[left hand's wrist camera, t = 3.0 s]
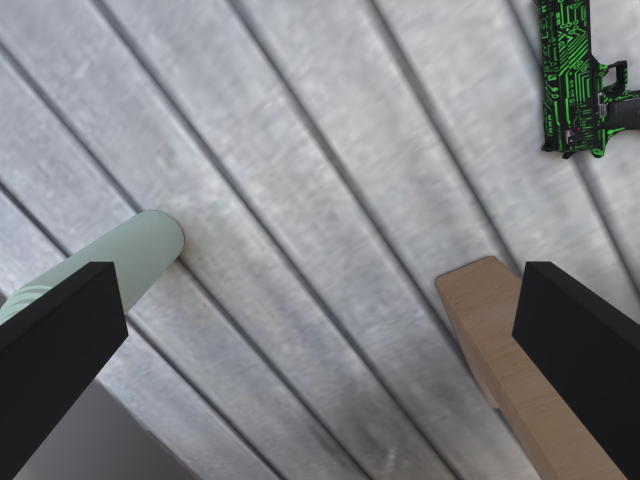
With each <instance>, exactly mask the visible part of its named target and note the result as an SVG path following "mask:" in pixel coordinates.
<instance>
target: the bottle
mask: <svg viewBox="0 0 640 480" xmlns="http://www.w3.org/2000/svg"><path fill="white" fill-rule="evenodd" d="M183 246H184V234H183V231H182V229H181V227H180V225H179V224H178V223H177V221H176V220H175V219H173V218H172V217H171V216H169V215H168V214H166V213H164V212H161V211H156V210H147V211H143V212H140V213H138V214H137V215H135V216H134V217H132V218H130V219H129V220H127V221H126V222H124V223H123V224H121V225H119V226H118V227H116V228H115V229H113V230H112V231H110V232H108V233H107V234H105V235H104V236H102V237H101V238H99V239H97V240H96V241H94V242H93V243H91V244H90V245H88V246H86V247H85V248H83V249H82V250H80V251H79V252H77V253H75V254H74V255H72V256H71V257H69V258H68V259H66V260H64V261H63V262H61V263H60V264H58V265H57V266H55V267H53V268H52V269H50V270H49V271H47V272H46V273H44V274H42V275H41V276H39V277H38V278H36V279H35V280H33V281H31V282H30V283H28V284H27V285H25V286H24V287H22V288H20V289H19V290H17V291H16V292H14V293H13V294H12V295H11V296H10V297H9V298H8V300H7V301H6V303H5V304H4V305H3V306H2V308H1V310H0V325H1V324H3V323H4V322H5V321H7V320H8V319H10V318H11V317H12V316H14V315H15V314H17V313H18V312H19V311H21V310H22V309H24V308H25V307H27V306H28V305H29V304H31V303H32V302H34V301H35V300H36V299H38V298H39V297H41V296H42V295H43V294H45V293H46V292H48V291H49V290H50V289H52V288H53V287H55V286H56V285H57V284H59V283H60V282H62V281H63V280H64V279H66V278H67V277H69V276H70V275H72V274H73V273H74V272H76V271H77V270H79V269H80V268H81V267H83V266H84V265H86V264H87V263H88V262H114V265H115V270H116V275H117V280H118V285H119V290H120V295H121V300H122V305H123V310H124V315H126V314H127V312H128V311H129V310H130V309H131V308H132V307H133V306H134V305H135V304H136V302H137V301H138V300H139V299H140V298H141V297H142V296H143V295H144V294H145V292H146V291H147V290H148V289H149V288H150V287H151V286H152V285H153V283H154V282H155V281H156V280H157V279H158V278H159V277H160V276H161V275H162V273H163V272H164V271H165V270H166V269H167V268H168V267H169V266H170V265H171V263H172V262H173V261H174V260H175V259H176V258H177V257H178V256H179V254H180V253H181V251H182V249H183Z"/></svg>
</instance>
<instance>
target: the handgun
mask: <svg viewBox="0 0 640 480" xmlns="http://www.w3.org/2000/svg"><path fill="white" fill-rule="evenodd" d="M533 1H534V2H535V4H536V5H537V6H538V8H539V18H540V28H541V40H542V52H543V65H544V76H545V87H546V97H547V100H546V101H543V108H544V117H545V122H544V130H545V141H546V143H545V144H544V145H543V147H542V148H541V150H542V151H546V152H551V151H557V152H562V153H563V152H564V155H563V157H562V158H564V159H568V158H569V157H570V156H571V155H572V154H574V153H576V152H577V151H585V150H589V151H590V152H591V153H592V155H593V156H594V157H596V158H601V157H603V156H604V151H605V146H606V144H607V142H608V140H609V138H610V137H611V136H613V135H615V134H617V133H618V132H620V131H622V130H640V90H637V91H630V90H625V88H626V85H627V61H626V60H625V61H618V62H616V63H614V64H611V65H608V66H606V65H603V64H600V63H599V62H598V61H597V60H596V59H595V58H594V56H593V55H592V54H591V28H590V1H589V0H533ZM613 67H616V78H617V82H615V83H614V84H612V85H610V86H607V87H604V88H603V80H602V78H603V77H604V76H605V75H606V74H607V73H608V72H609V71H608V69H610V68H613ZM611 90H612V91H611ZM624 90H625V91H624ZM604 93H605V94H604Z"/></svg>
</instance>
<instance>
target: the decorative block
mask: <svg viewBox="0 0 640 480" xmlns="http://www.w3.org/2000/svg"><path fill="white" fill-rule="evenodd" d="M435 285H436V288H437V290H438V293H439V295H440V298H441V300H442V302H443V305H444V307H445V310H446V312H447V314H448V317H449V319H450V322H451V324H452V327H453V329H454V331H455V334H456V336H457V339H458V341H459V343H460V346H461V348H462V351H463V353H464V356H465V358H466V360H467V363H468V365H469V368H470V370H471V372H472V374H473V376H474V378H475V380H476V381H477V383H478V385H479V387H480V389H481V390H482V392H483V394H484V396H485V398H486V399H487V401H488V403H489V405H491V406H492V407H493V408H500V409H501V411H502V413H503V414H504V416H505V418H506V419H507V421H508V423H509V425H510V426H511V428H512V430H513V431H514V433H515V435H516V437H517V438H518V440H519V442H520V444H521V445H522V447H523V449H524V450H525V452H526V454H527V456H528V457H529V459H530V461H531V463H532V464H533V466H534V468H535V469H536V471H537V473H538V475H539V476H540V478H541V480H627V478H626V477H625V476H624V475H623V473H622V472H621V471H620V470H619V468H618V467H617V466H616V465H615V463H614V462H613V461H612V460H611V458H610V457H609V456H608V455H607V454H606V452H605V451H604V450H603V449H602V447H601V446H600V445H599V444H598V442H597V441H596V440H595V439H594V437H593V436H592V435H591V434H590V432H589V431H588V430H587V429H586V427H585V426H584V425H583V424H582V422H581V421H580V420H579V419H578V418H577V416H576V415H575V414H574V413H573V411H572V410H571V409H570V408H569V406H568V405H567V404H566V403H565V401H564V400H563V399H562V398H561V396H560V395H559V394H558V393H557V391H556V390H555V389H554V388H553V386H552V385H551V384H550V383H549V382H548V380H547V379H546V378H545V377H544V375H543V374H542V373H541V372H540V370H539V369H538V368H537V367H536V365H535V364H534V363H533V362H532V360H531V359H530V358H529V357H528V355H527V354H526V353H525V352H524V350H523V349H522V348H521V347H520V346H519V344H518V343H517V342H516V341H515V339H514V338H513V337H512V336H511V335H512V330H513V325H514V320H515V315H516V310H517V305H518V300H519V295H520V290H521V285H522V280H520V279H519V278H518V277H517V276H516V275H515V274H514V273H513V272H512V271H511V270H509V269H508V268H507V267H506V266H505V265H504V264H503V263H502V262H501V261H500V260H498V259H497V258H496V257H495V256H489V257H486V258H484V259H481V260H479V261H476V262H474V263H472V264H469V265H467V266H464V267H462V268H459V269H457V270H454V271H452V272H450V273H447V274H445V275H442V276H440V277H438V278H437V279H435Z"/></svg>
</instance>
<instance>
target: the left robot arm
mask: <svg viewBox="0 0 640 480" xmlns="http://www.w3.org/2000/svg"><path fill="white" fill-rule="evenodd" d="M128 336H129V335H128V330H127V325H126V320H125V315H124V310H123V305H122V300H121V295H120V290H119V285H118V280H117V275H116V270H115V265H114V262H88V263H87V264H86V265H84V266H83V267H81V268H80V269H79V270H77V271H76V272H74V273H73V274H72V275H70V276H69V277H67V278H66V279H64V280H63V281H62V282H60V283H59V284H57V285H56V286H55V287H53V288H52V289H50V290H49V291H48V292H46V293H45V294H43V295H42V296H41V297H39V298H38V299H36V300H35V301H34V302H32V303H31V304H29V305H28V306H27V307H25V308H24V309H22V310H21V311H19V312H18V313H17V314H15V315H14V316H12V317H11V318H10V319H8V320H7V321H5V322H4V323H3V324H1V325H0V480H13V478H14V477H15V476H16V475H17V473H18V472H19V471H20V470H21V468H22V467H23V466H24V465H25V463H26V462H27V461H28V460H29V458H30V457H31V456H32V455H33V454H34V452H35V451H36V450H37V449H38V447H39V446H40V445H41V444H42V442H43V441H44V440H45V439H46V437H47V436H48V435H49V434H50V432H51V431H52V430H53V429H54V427H55V426H56V425H57V424H58V422H59V421H60V420H61V419H62V417H63V416H64V415H65V414H66V413H67V411H68V410H69V409H70V408H71V406H72V405H73V404H74V403H75V401H76V400H77V399H78V398H79V396H80V395H81V394H82V393H83V391H84V390H85V389H86V388H87V386H88V385H89V384H90V383H91V382H92V380H93V379H94V378H95V377H96V375H97V374H98V373H99V372H100V370H101V369H102V368H103V367H104V365H105V364H106V363H107V362H108V360H109V359H110V358H111V357H112V355H113V354H114V353H115V352H116V350H117V349H118V348H119V347H120V346H121V344H122V343H123V342H124V341H125V339H126V338H127V337H128ZM511 336H512V337H513V338H514V339H515V341H516V342H517V343H518V344H519V346H520V347H521V348H522V349H523V350H524V352H525V353H526V354H527V355H528V357H529V358H530V359H531V360H532V362H533V363H534V364H535V365H536V367H537V368H538V369H539V370H540V372H541V373H542V374H543V375H544V377H545V378H546V379H547V380H548V382H549V383H550V384H551V385H552V386H553V388H554V389H555V390H556V391H557V393H558V394H559V395H560V396H561V398H562V399H563V400H564V401H565V403H566V404H567V405H568V406H569V408H570V409H571V410H572V411H573V413H574V414H575V415H576V416H577V418H578V419H579V420H580V421H581V422H582V424H583V425H584V426H585V427H586V429H587V430H588V431H589V432H590V434H591V435H592V436H593V437H594V439H595V440H596V441H597V442H598V444H599V445H600V446H601V447H602V449H603V450H604V451H605V452H606V454H607V455H608V456H609V457H610V458H611V460H612V461H613V462H614V463H615V465H616V466H617V467H618V468H619V470H620V471H621V472H622V473H623V475H624V476H625V477H626V478H627V480H640V325H639V324H637V323H636V322H635V321H633V320H632V319H630V318H629V317H628V316H626V315H625V314H623V313H622V312H621V311H619V310H618V309H616V308H615V307H613V306H612V305H611V304H609V303H608V302H606V301H605V300H604V299H602V298H601V297H599V296H598V295H597V294H595V293H594V292H592V291H591V290H590V289H588V288H587V287H585V286H584V285H583V284H581V283H580V282H578V281H577V280H576V279H574V278H573V277H571V276H570V275H568V274H567V273H566V272H564V271H563V270H561V269H560V268H559V267H557V266H556V265H554V264H553V263H552V262H526V265H525V270H524V275H523V280H522V285H521V290H520V295H519V300H518V305H517V310H516V315H515V320H514V325H513V330H512V335H511Z"/></svg>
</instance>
